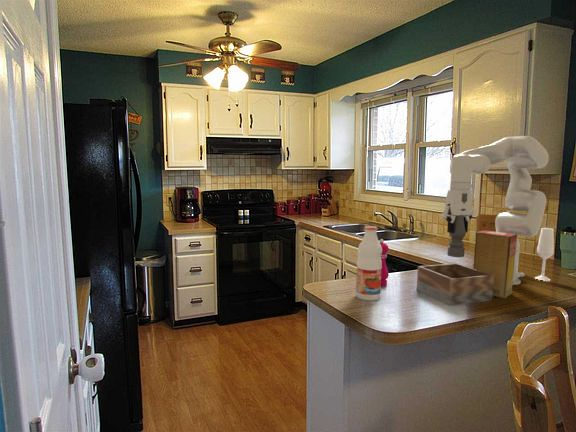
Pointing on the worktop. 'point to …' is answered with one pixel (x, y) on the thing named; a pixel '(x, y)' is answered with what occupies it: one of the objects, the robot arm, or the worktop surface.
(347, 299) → the worktop surface
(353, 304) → the worktop surface
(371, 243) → the fruit juice
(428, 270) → the open box
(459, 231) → the candle holder
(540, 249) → the champagne flute
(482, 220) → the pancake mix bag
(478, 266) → the food packaging
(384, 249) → the pepper mill
